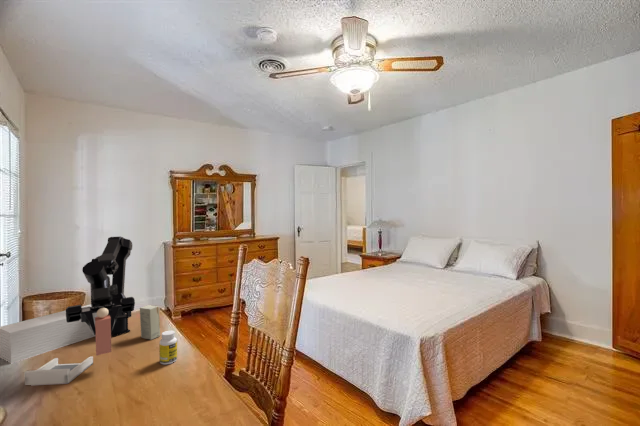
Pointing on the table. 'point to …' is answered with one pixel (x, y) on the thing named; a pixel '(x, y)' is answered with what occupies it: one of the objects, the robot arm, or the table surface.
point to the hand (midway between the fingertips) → (103, 332)
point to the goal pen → (56, 372)
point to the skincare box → (150, 322)
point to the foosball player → (103, 331)
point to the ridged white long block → (41, 335)
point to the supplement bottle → (168, 347)
